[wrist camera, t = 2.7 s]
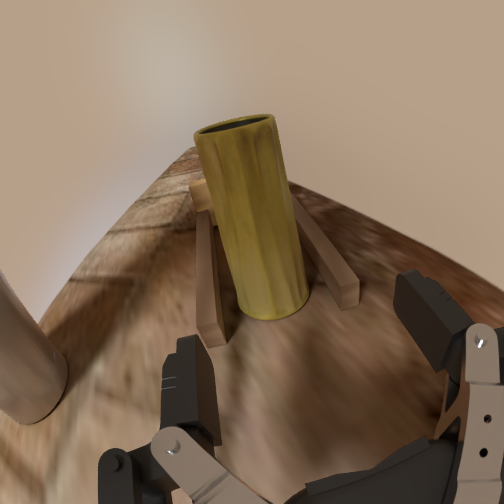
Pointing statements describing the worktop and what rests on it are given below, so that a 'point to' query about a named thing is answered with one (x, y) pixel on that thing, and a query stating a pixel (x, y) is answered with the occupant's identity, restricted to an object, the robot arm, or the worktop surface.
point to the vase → (254, 214)
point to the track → (207, 279)
